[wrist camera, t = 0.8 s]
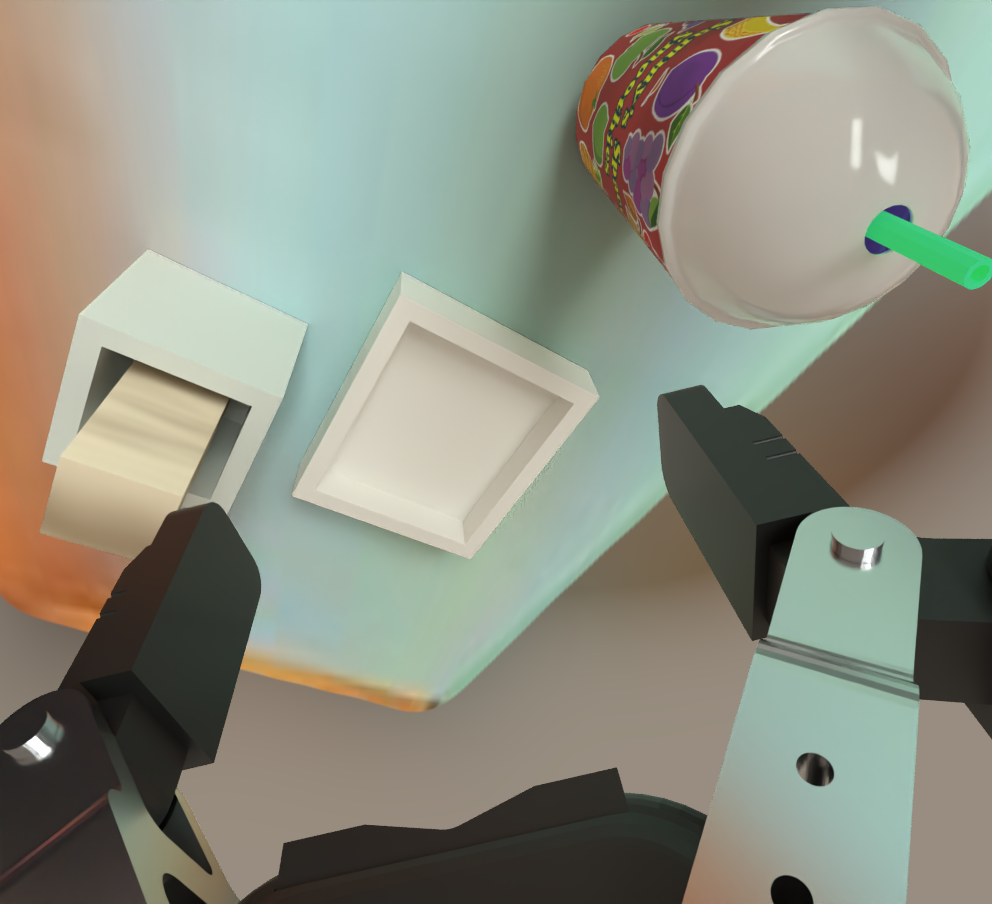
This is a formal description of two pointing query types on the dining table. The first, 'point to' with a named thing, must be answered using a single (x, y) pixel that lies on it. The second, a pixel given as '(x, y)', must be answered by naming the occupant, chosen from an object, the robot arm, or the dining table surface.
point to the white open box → (183, 361)
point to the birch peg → (132, 461)
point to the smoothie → (783, 159)
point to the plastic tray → (441, 422)
